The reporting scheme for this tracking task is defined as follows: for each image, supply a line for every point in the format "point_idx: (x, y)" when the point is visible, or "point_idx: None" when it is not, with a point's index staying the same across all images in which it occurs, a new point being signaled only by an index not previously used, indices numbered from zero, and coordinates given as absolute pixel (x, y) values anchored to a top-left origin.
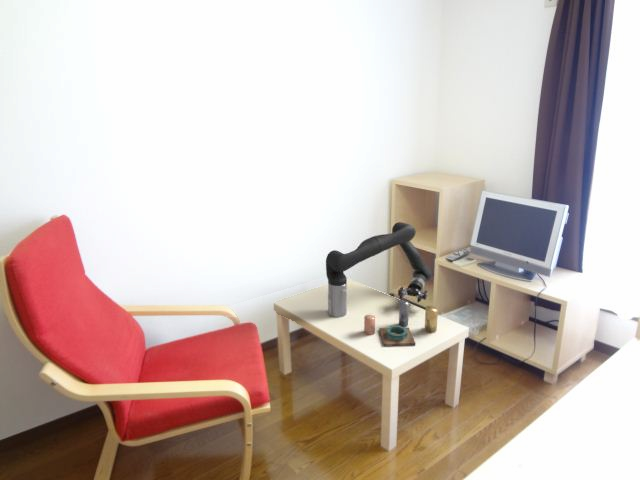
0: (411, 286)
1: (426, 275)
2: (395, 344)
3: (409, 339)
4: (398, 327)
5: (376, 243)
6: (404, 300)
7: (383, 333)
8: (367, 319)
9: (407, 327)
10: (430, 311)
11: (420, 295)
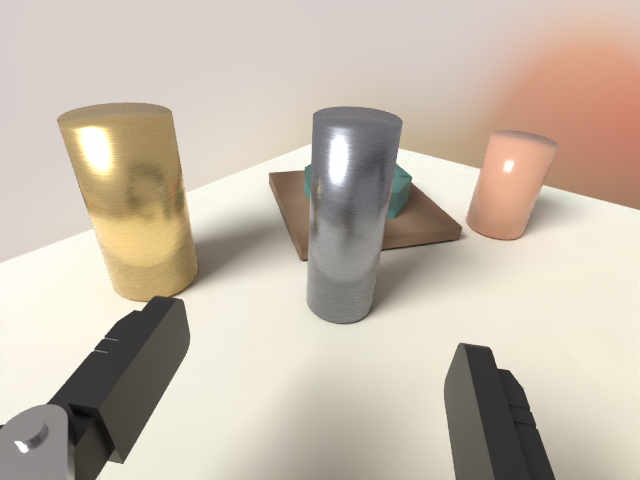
0: None
1: None
2: None
3: (294, 183)
4: None
5: None
6: (363, 129)
7: (420, 201)
8: (519, 131)
9: (307, 245)
10: (147, 104)
11: (60, 409)
